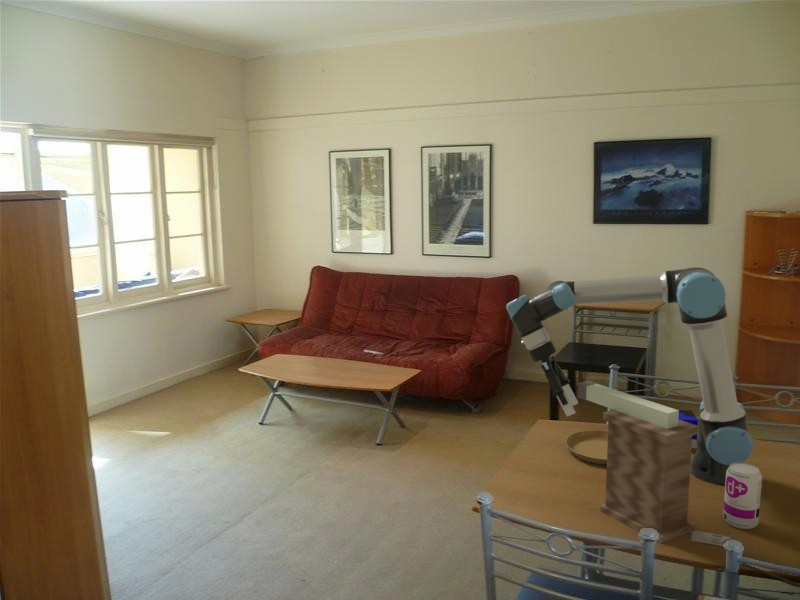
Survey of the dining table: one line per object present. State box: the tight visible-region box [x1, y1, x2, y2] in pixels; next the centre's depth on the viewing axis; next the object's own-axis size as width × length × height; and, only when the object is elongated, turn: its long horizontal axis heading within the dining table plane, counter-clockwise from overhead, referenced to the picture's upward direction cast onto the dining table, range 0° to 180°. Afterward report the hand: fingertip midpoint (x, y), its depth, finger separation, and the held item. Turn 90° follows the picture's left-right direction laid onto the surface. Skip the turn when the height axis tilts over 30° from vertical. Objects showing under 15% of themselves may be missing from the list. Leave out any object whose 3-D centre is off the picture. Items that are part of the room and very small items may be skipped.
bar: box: [577, 380, 680, 429], centre depth 178 cm, size 30×4×4 cm, turn 30°
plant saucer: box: [565, 429, 608, 466], centre depth 221 cm, size 24×24×3 cm
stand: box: [599, 409, 699, 544], centre depth 174 cm, size 20×12×28 cm, turn 30°
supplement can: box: [722, 462, 763, 530], centre depth 173 cm, size 8×8×15 cm
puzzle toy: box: [678, 409, 699, 448], centre depth 227 cm, size 10×10×10 cm
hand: (573, 409), depth 197 cm, fingers open, 13 cm apart
